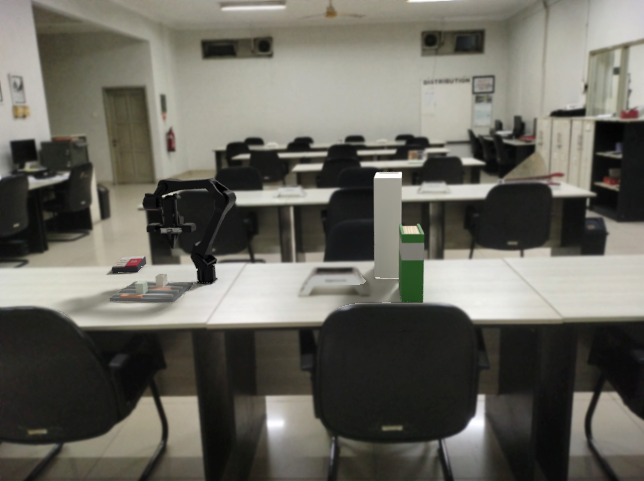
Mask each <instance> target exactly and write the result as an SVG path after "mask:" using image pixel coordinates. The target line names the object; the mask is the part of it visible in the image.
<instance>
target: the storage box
mask: <svg viewBox="0 0 644 481" xmlns="http://www.w3.org/2000/svg"><path fill="white" fill-rule="evenodd" d="M402 174H403V173H402V171H396V172H395V171H390V172H389V171H388V172H387V171H386V172H385V171H382V172H381V171H379V172H378V171H377V172H376V173H375V175H374V177H373V232H374V233H373V235H374V236H373V242H374V243H373V244H374V245H373V248H374V249H373V252H374V254H373V256H374V257H373V258H374V261H373V262H374V268H373V269H374V271H373V274H374V277H380V278H399V224H402V211H403V210H402V207H403V206H402V192H403V191H402V188H403V186H402V184H403V183H402V181H403V177H402V176H403V175H402Z"/></svg>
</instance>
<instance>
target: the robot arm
mask: <svg viewBox="0 0 644 481" xmlns="http://www.w3.org/2000/svg"><path fill="white" fill-rule="evenodd" d="M189 190H190V191H191V190H194V191H195V190H206V191H207V192H208V194H209V195H210V197H211V198H212V199H213V200H214V202H213V206H214V207H213V208H214V209H213V212H212V215H211V217H210V220H209V222H208V224H207V226H206V229H205V231H204V233H203V235H202V238H201V240H200V241H198V242H196V243H193V245H192V249H191V250H190V252H189V254H190V256H189V257H190V260H191V261H192V263H193V265H194V268H195V270H196V280H197V281H196V284H214V283H215V282H216V281H217V280H218V277H217V274H216V265H217V262H218V258H217V257H216V256H215V255H213V243H214V241H215V239H216V236H217V234H218V232H219V230H220V227H221V225H222V222H223V221H224V218H225V216H226V214H227V213H228V212H229V211H230V210H231V208H232V207H233V206H234V204H235V203H236V202H237V195H236V193H235V191H233V190H231V189H229V188H228V187H226V186H225V185H223V184H222V183H221V182H219V181H218V180H216V179H215V178H214V177H208V178H197V179H195V178H194V179H179V178H174V177H170V178H168V177H167V178H163V179H160V180H159V181H158V182H157V187H156V189H155V190H154V192H153V193H152V192H146V193H144V197H143V199H142V207H143V209H144V210H145V211H160V210H161V214H160V216H161V218H162V221H163V223H162V224H161V222H152V223H149V224H147V225H146V228H145V229H146V230H145V231H146V233H154V232H156V231H160V235H162V236H163V237H164V239H165V240H166V241H167V244H168V245H169V247H170V249H172V250H174V249H175V248H176V244H177V241H178V238H179V236H180V234H181V233H193V232H194V231H196V230H197V225H196V223H194V222H185V223H184V218H185V217H184V216H182V215H180V212H179V211H178V206H177V205H178V204H177V200H180V199H181V198H182V197H181V195H179V194H178V192H179V191H189Z"/></svg>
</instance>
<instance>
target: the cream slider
mask: <svg viewBox="0 0 644 481" xmlns="http://www.w3.org/2000/svg"><path fill="white" fill-rule="evenodd" d="M154 279H155V282H156V286H166V285H167V284H168V282H169V281H168V274H167V273H158V274H157V275H155V278H154Z"/></svg>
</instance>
